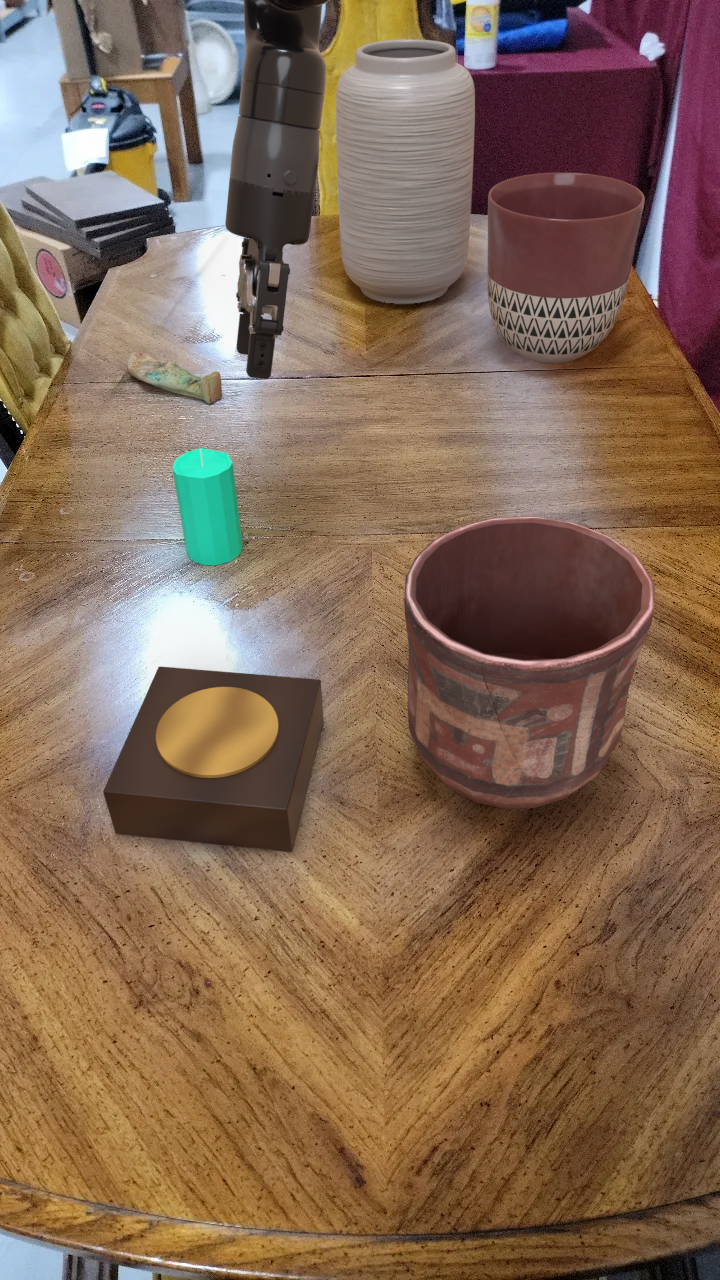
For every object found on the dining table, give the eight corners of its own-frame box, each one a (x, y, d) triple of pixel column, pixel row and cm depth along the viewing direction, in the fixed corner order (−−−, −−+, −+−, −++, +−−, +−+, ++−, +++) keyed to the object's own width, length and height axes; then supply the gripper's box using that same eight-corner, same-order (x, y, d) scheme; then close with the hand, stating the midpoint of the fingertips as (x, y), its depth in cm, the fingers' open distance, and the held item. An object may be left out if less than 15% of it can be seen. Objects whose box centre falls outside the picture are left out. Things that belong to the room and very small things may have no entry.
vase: (316, 295, 158) (303, 55, 136) (386, 256, 170) (385, 30, 148) (424, 322, 149) (429, 69, 127) (490, 279, 161) (504, 42, 139)
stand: (115, 834, 77) (101, 788, 73) (167, 707, 87) (157, 662, 84) (292, 852, 75) (286, 806, 71) (323, 721, 85) (320, 675, 82)
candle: (227, 570, 102) (213, 469, 95) (176, 559, 104) (158, 459, 96) (252, 538, 107) (240, 439, 99) (202, 528, 108) (187, 430, 101)
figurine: (194, 413, 129) (190, 385, 126) (121, 380, 136) (116, 354, 134) (225, 397, 132) (222, 371, 129) (152, 367, 140) (147, 341, 137)
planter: (504, 394, 131) (517, 226, 117) (462, 334, 145) (469, 179, 131) (642, 377, 133) (671, 211, 119) (588, 320, 148) (608, 166, 134)
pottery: (621, 855, 74) (663, 678, 62) (388, 826, 77) (387, 651, 65) (616, 693, 87) (650, 522, 75) (418, 672, 90) (421, 504, 78)
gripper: (222, 166, 92) (206, 343, 99) (239, 181, 80) (219, 381, 87) (301, 179, 94) (280, 351, 101) (329, 196, 82) (303, 390, 89)
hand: (252, 365), depth 94 cm, fingers open, 8 cm apart
